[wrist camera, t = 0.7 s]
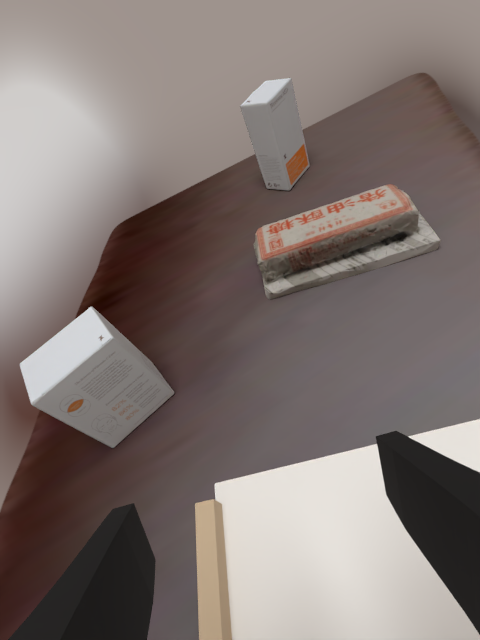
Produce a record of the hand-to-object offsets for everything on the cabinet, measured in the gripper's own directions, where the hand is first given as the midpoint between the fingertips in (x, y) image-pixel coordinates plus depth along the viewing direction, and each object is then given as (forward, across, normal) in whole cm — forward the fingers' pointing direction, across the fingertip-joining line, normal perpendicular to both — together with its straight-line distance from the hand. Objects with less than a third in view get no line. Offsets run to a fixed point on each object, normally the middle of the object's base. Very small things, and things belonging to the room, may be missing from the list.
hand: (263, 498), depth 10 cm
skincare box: (+47, -14, -12) cm, 50 cm away
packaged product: (+32, -14, -2) cm, 35 cm away
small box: (+26, +12, +7) cm, 30 cm away
